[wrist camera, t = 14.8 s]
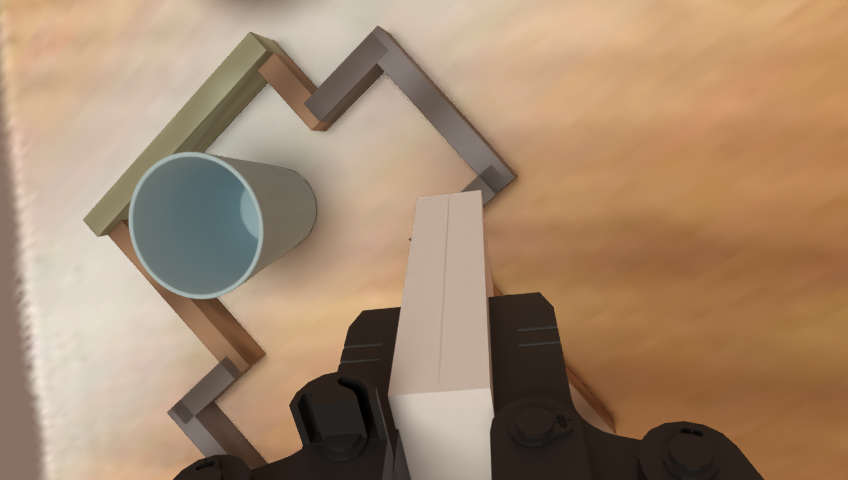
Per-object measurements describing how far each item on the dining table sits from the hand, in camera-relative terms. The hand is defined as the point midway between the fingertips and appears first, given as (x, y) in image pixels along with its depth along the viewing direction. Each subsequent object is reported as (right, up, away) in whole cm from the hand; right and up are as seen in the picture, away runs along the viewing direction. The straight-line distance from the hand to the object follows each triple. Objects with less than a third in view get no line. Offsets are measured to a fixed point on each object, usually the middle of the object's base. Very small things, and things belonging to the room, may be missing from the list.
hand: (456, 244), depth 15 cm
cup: (-11, +2, +28) cm, 30 cm away
